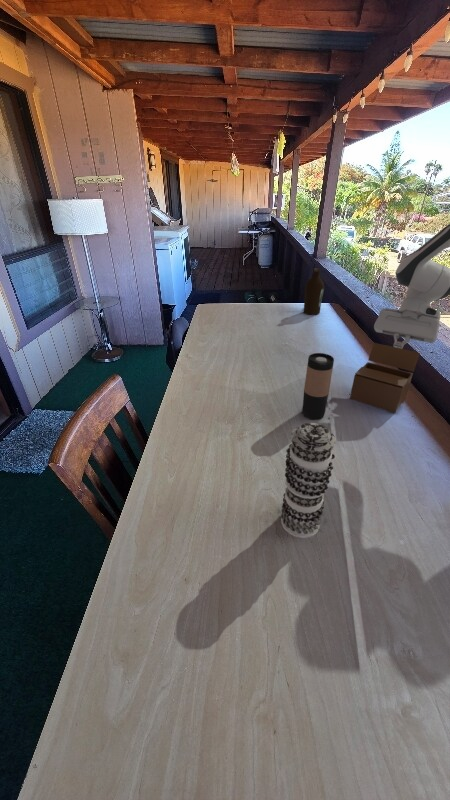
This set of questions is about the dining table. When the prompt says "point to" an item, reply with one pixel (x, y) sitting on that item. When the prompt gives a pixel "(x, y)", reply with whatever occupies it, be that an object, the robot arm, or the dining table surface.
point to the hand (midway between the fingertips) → (397, 347)
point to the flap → (394, 356)
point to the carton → (380, 386)
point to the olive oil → (313, 294)
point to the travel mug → (317, 385)
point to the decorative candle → (306, 478)
